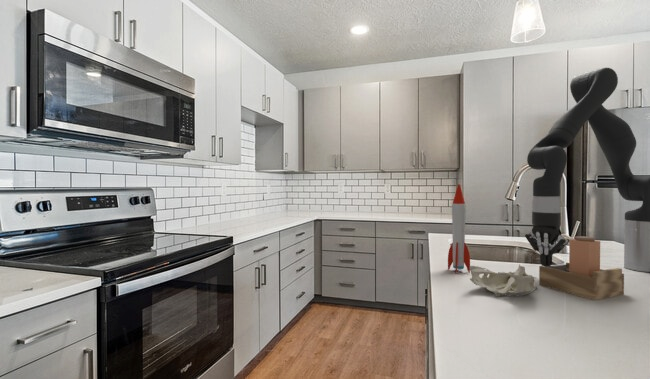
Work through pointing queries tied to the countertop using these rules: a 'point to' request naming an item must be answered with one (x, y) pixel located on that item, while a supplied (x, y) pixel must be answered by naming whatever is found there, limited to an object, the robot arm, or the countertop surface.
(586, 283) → the dock
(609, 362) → the countertop surface
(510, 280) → the anatomical model
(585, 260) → the tin
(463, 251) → the toy rocket
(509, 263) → the countertop surface
